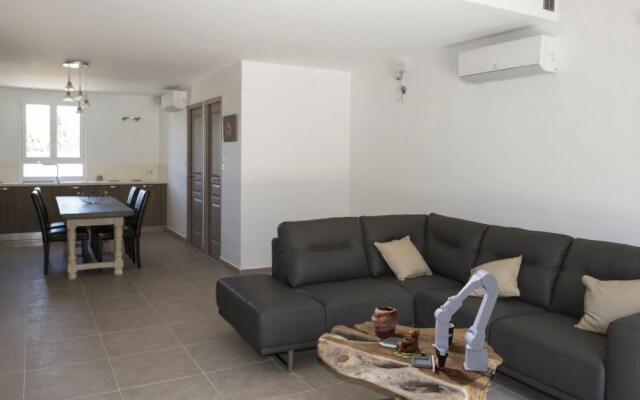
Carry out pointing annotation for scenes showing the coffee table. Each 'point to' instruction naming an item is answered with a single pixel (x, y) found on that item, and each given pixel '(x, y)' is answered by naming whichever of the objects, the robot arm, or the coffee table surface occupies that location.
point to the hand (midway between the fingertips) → (441, 365)
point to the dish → (421, 362)
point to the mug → (450, 333)
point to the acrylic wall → (433, 364)
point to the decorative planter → (385, 321)
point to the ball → (438, 364)
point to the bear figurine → (409, 346)
